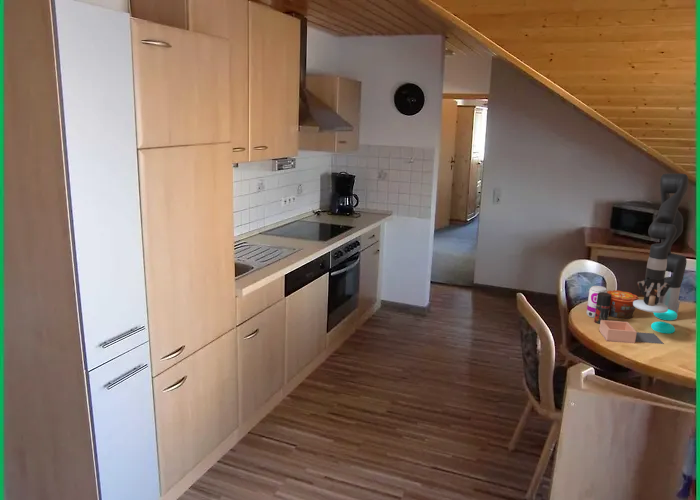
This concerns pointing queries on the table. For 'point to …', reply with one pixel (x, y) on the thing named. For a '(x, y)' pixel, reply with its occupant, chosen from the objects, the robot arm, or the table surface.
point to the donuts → (664, 326)
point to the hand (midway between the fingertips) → (650, 303)
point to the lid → (650, 305)
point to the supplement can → (593, 299)
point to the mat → (647, 338)
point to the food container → (622, 304)
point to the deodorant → (602, 307)
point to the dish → (617, 331)
